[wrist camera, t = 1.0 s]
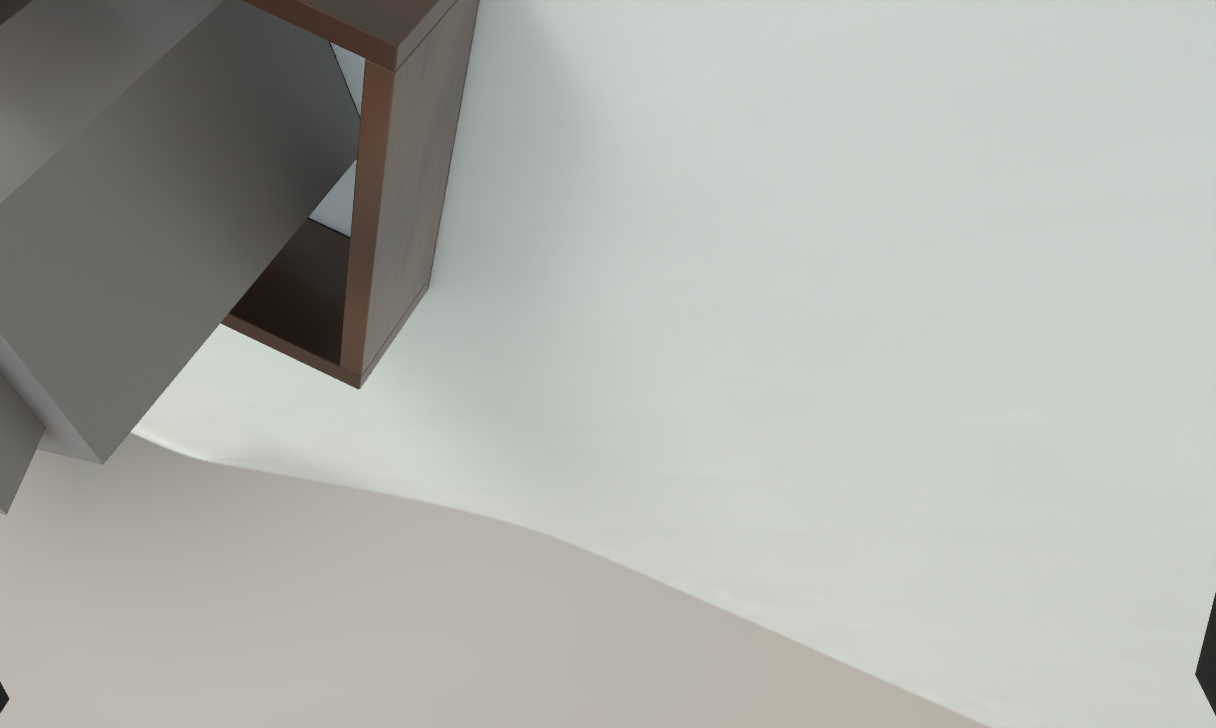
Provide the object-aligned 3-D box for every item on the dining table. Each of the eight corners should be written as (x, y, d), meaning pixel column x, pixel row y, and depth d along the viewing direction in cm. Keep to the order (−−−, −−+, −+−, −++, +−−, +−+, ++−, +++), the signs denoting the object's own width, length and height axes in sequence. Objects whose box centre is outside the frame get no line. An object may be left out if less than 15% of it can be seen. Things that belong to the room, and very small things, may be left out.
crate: (-12, -290, 30) (-160, -214, 27) (489, -59, 29) (397, 46, 26) (68, 119, 41) (-29, 204, 38) (428, 290, 41) (359, 390, 38)
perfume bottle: (108, -58, 34) (-445, 367, 23) (289, -59, 32) (-238, 418, 21) (204, 130, 39) (-217, 556, 28) (369, 142, 36) (-24, 617, 25)
